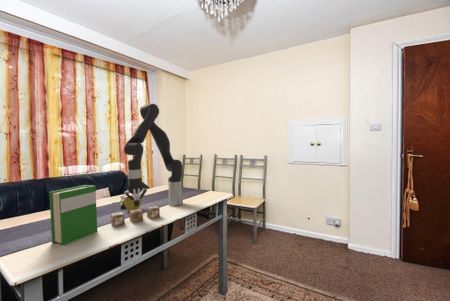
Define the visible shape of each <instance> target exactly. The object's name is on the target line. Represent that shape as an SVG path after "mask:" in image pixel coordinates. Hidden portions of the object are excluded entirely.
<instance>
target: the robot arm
mask: <svg viewBox="0 0 450 301" xmlns="http://www.w3.org/2000/svg"><path fill="white" fill-rule="evenodd" d="M139 113H140V116H141V118H142V119H143V120H142V122H141V123H139V125H137V127H136V129H135V130H134V132H133V134H132V136H131V137H130V138H129V140H127V141H126V143H125V145H124V147H123V151H124V154H125V155H126V156H127V155H128V156H133V158H131V159H128V161H127V168H128V169H127V181H128V186H127V190H126V191H124V192H123V193H124V195H126V197H129V198H130V199H131V200H133V201H134V206H135V207H137V206H138V205H139V199H141V198H142V199H143V197H144V196H145V194H146V193H147V191H148V189H147V188H145V187H144V186H143V172H142V158H143V154H144V146H143V143H144V142H145V140H146V137H147V134H148V132H150V135H152V138H153V141H154V142H155V145H156V147H157V149H158V151H159V154H160V155H161V158H162V160H163V164H164V166H165V168H166V170H167V171H168V172H171V175H170V176H169V177H168V179H167V180H168V184H167V185H168V205H169V206H170V207H177V206H178V207H179V206H181V205H183V204H184V198H183V197H184V194H183V193H184V192H183V191H182V177H183V162H182V161H181V160H180V159H174V157H173V156H172V153H171V143H170V139H169V136H168V135H167V133H166V132H165V130H163V129H162V128H161V127H159V125H157V124H156V122H155V121H156V120H157V118H158V116H159V114H160V108H159V106H158V105H157V104H155V103H150V104H146V105H142V106H141V107H140V108H139ZM130 194H131V195H130ZM131 196H133V197H131Z"/></svg>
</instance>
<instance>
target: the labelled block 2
mask: <svg viewBox="0 0 450 301" xmlns="http://www.w3.org/2000/svg"><path fill="white" fill-rule="evenodd" d="M160 211H161V210H160V207H159V206H157V205H152V206H147V207H146V217H147V218H148V220H154V219H159V218H161V212H160Z"/></svg>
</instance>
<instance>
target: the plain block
mask: <svg viewBox="0 0 450 301" xmlns="http://www.w3.org/2000/svg"><path fill="white" fill-rule="evenodd" d="M143 213H144V212H143V210H142V208H139V209H135V210H129V221H130V223H132V224H134V223H139V222H143V221H144V214H143Z"/></svg>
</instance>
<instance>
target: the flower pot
mask: <svg viewBox="0 0 450 301" xmlns="http://www.w3.org/2000/svg"><path fill="white" fill-rule="evenodd" d="M130 196H131V197H133V196H132V195H130ZM142 199H143V197H142V198H141V199H139V205H138V206H137V207H135V206H134V201H133V200H131V199H130V198H129V197H128V196H126V197H125V198H123V201H124V206H125V208H126V210H127V211H129V210H135V209H140V207H141V206H142V205H141V204H142ZM129 212H130V211H129Z"/></svg>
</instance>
